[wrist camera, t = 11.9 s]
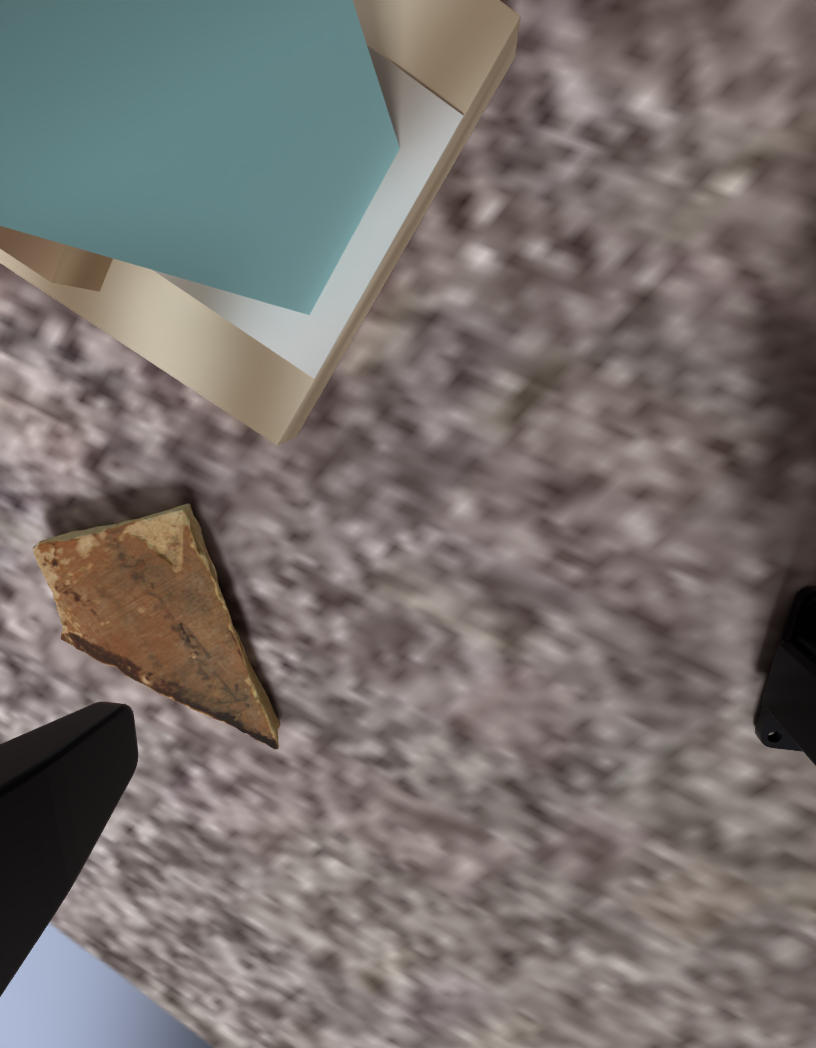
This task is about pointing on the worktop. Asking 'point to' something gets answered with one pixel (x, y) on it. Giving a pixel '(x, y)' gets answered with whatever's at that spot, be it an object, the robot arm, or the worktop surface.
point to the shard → (157, 615)
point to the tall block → (194, 136)
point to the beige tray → (378, 242)
